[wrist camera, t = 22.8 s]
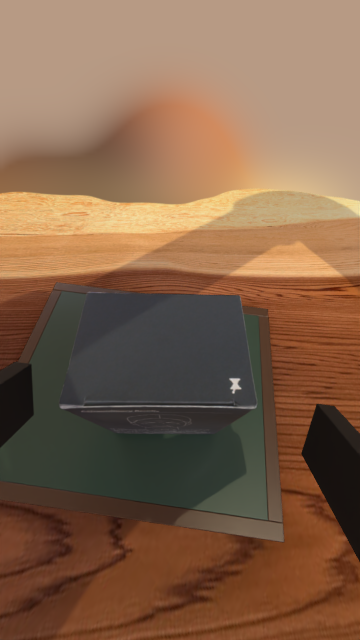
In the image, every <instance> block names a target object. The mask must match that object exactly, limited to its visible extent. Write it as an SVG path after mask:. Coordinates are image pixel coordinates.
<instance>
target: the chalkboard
mask: <svg viewBox="0 0 360 640" xmlns="http://www.w3.org/2000/svg"><path fill="white" fill-rule="evenodd" d="M88 292H101V293H137V292H129V291H121V290H113V289H105V288H98V287H90V286H82V285H74V284H66V283H58V282H56V284H55V286H54V288H53V290H52V292H51V294H50V296H49V299H48V301H47V303H46V305H45V307H44V309H43V311H42V313H41V315H40V317H39V319H38V321H37V323H36V325H35V327H34V329H33V331H32V334H31V336H30V338H29V340H28V342H27V344H26V346H25V348H24V350H23V352H22V354H21V356H20V358H19V360H18V362H21V363H28V364H32V385H33V406H34V415H33V416H32V417H31V418H30V419H29V420H28V421H27V422H26V423H25V424H24V425H23V426H22V427H21V428H20V429H19V430H18V431H17V432H16V433H15V434H14V435H13V436H12V437H11V438H10V439H9V440H8V441H7V442H6V443H5V444H4V445H3V446H2V447H1V448H0V500H6V501H12V502H19V503H26V504H32V505H39V506H46V507H52V508H59V509H66V510H72V511H79V512H85V513H92V514H99V515H105V516H112V517H119V518H125V519H132V520H138V521H145V522H152V523H158V524H165V525H172V526H178V527H185V528H192V529H198V530H205V531H211V532H218V533H225V534H231V535H238V536H245V537H251V538H258V539H264V540H271V541H278V542H284V530H283V523H282V522H283V515H282V501H281V487H280V472H279V458H278V444H277V430H276V416H275V402H274V387H273V373H272V359H271V345H270V331H269V317H268V309H263V308H255V307H248V306H242V310H243V315H244V321H245V328H246V335H247V341H248V348H249V355H250V361H251V368H252V374H253V380H254V386H255V392H256V397H257V407H256V409H253V410H251V411H250V412H249V413H247V414H246V415H244V416H242V417H241V418H239V419H238V420H236V421H235V422H233V423H231V424H229V425H228V426H227V427H225V428H223V429H222V430H220V431H218V432H217V433H215V434H131V433H130V434H126V433H114V432H112V431H110V430H108V429H105V428H103V427H101V426H99V425H97V424H95V423H92V422H90V421H88V420H86V419H83V418H81V417H79V416H77V415H75V414H72V413H71V412H68V411H66V410H63V409H61V408H60V407H59V399H60V396H61V392H62V389H63V385H64V381H65V378H66V374H67V370H68V367H69V363H70V358H71V354H72V350H73V346H74V342H75V338H76V334H77V330H78V326H79V322H80V318H81V314H82V310H83V306H84V302H85V299H86V295H87V293H88ZM144 294H145V293H144Z"/></svg>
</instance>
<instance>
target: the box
mask: <svg viewBox="0 0 360 640" xmlns="http://www.w3.org/2000/svg"><path fill="white" fill-rule="evenodd" d="M59 407H60V408H61V409H63V410H66V411H68V412H71V413H72V414H75V415H77V416H79V417H81V418H83V419H86V420H88V421H90V422H92V423H95V424H97V425H99V426H101V427H103V428H105V429H108V430H110V431H112V432H114V433H126V434H130V433H131V434H215V433H217V432H218V431H220V430H222V429H223V428H225V427H227V426H228V425H229V424H231V423H233V422H235V421H236V420H238V419H239V418H241V417H242V416H244V415H246V414H247V413H249V412H250V411H251V410H253V409H256V407H257V397H256V392H255V386H254V380H253V374H252V368H251V361H250V355H249V348H248V341H247V335H246V328H245V321H244V315H243V310H242V304H241V298H240V296H239V295H194V294H144V293H101V292H88V293H87V295H86V299H85V302H84V306H83V310H82V314H81V318H80V322H79V326H78V330H77V334H76V338H75V342H74V346H73V350H72V354H71V358H70V363H69V367H68V370H67V374H66V378H65V381H64V385H63V389H62V392H61V396H60V399H59Z"/></svg>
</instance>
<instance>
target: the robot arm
mask: <svg viewBox="0 0 360 640" xmlns="http://www.w3.org/2000/svg"><path fill="white" fill-rule="evenodd" d="M33 415H34V406H33V385H32V364H28V363H21V362H14V363H12V364H11V365H9V366H7V367H6V368H4V369H2V370H1V371H0V448H1V447H2V446H3V445H4V444H5V443H6V442H7V441H8V440H9V439H10V438H11V437H12V436H13V435H14V434H15V433H16V432H17V431H18V430H19V429H20V428H21V427H22V426H23V425H24V424H25V423H26V422H27V421H28V420H29V419H30V418H31V417H32V416H33ZM302 456H303V457H304V459H305V461H306V463H307V465H308V467H309V469H310V470H311V472H312V474H313V476H314V478H315V480H316V482H317V483H318V485H319V487H320V489H321V491H322V493H323V495H324V496H325V498H326V500H327V502H328V504H329V506H330V508H331V509H332V511H333V513H334V515H335V517H336V519H337V520H338V522H339V524H340V526H341V528H342V530H343V532H344V533H345V535H346V537H347V539H348V541H349V543H350V545H351V546H352V548H353V550H354V552H355V554H356V556H357V558H358V559H359V561H360V433H359V432H358V431H357V430H356V429H355V428H354V427H353V426H352V425H351V424H350V423H349V422H348V420H347V419H346V418H345V417H344V416H343V415H342V414H341V413H340V412H339V411H338V410H337V409H336V408H335V406H330V405H322V404H317V405H316V408H315V412H314V415H313V418H312V421H311V425H310V428H309V431H308V434H307V438H306V441H305V444H304V447H303V450H302Z"/></svg>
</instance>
